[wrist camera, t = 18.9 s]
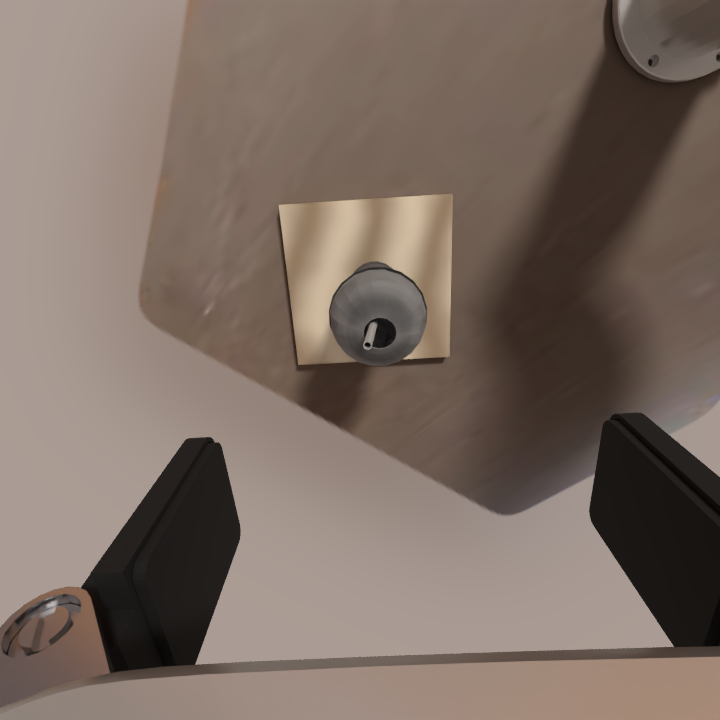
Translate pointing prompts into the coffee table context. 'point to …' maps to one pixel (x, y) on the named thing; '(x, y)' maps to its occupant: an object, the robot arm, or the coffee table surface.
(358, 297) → the beverage cup
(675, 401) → the coffee table surface
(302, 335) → the birch board
